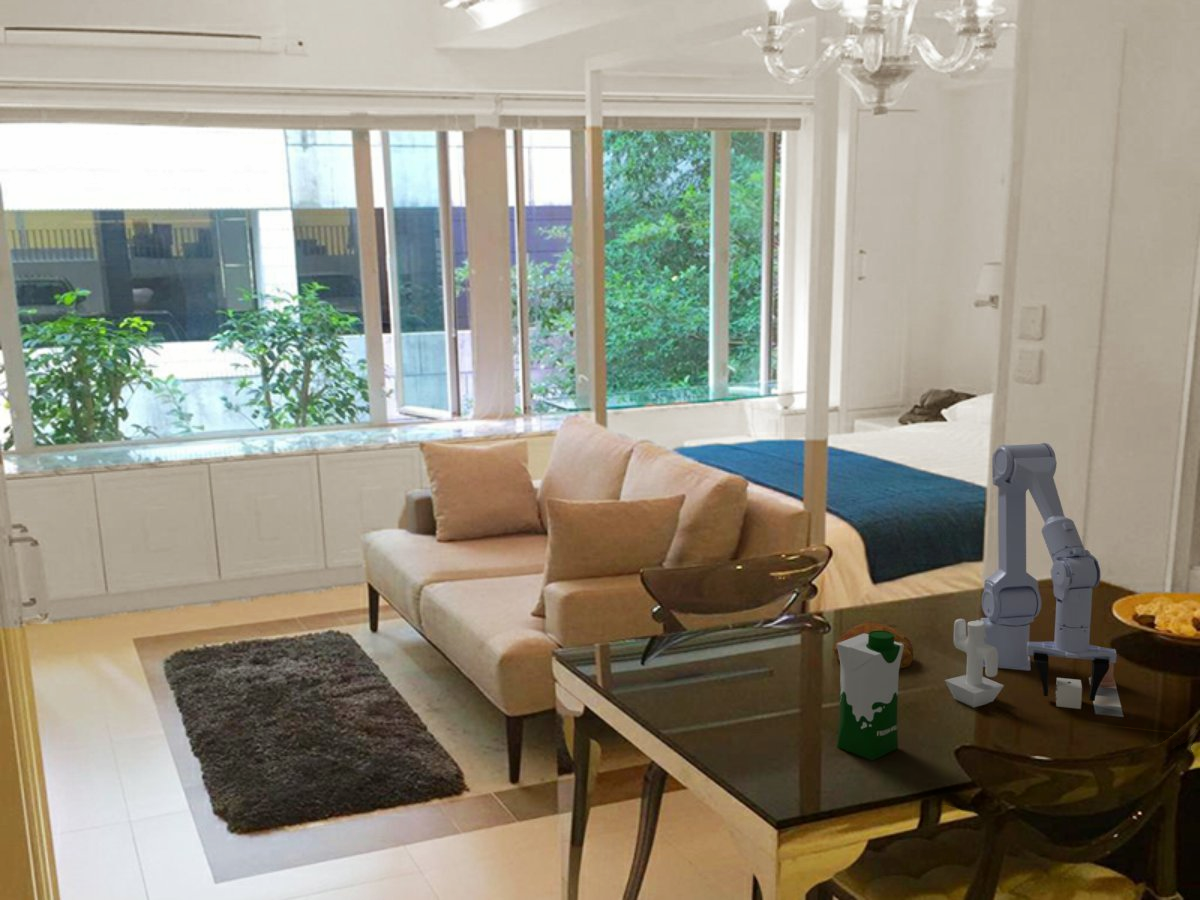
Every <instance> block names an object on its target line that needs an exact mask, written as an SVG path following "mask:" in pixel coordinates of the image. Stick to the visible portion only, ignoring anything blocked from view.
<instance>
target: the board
mask: <svg viewBox="0 0 1200 900" xmlns="http://www.w3.org/2000/svg"><path fill="white" fill-rule="evenodd" d="M1090 678H1091V677H1088V681H1089V686H1090V685H1091V682H1090ZM1092 703H1093V708H1094V714H1095V715H1099V716H1100V715H1101V716H1108V717H1109V716H1110V717H1111V716H1112V717H1119V718H1120V717H1121V718H1124V713H1123V708H1122V704H1121V701H1120V696H1119V693H1118V688H1117V683H1116V682H1115V685H1114V686H1113V687H1100V686H1099V687H1098V690H1097V692H1096V696H1095V701H1092Z"/></svg>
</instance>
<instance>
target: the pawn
mask: <svg viewBox="0 0 1200 900" xmlns="http://www.w3.org/2000/svg"><path fill="white" fill-rule="evenodd" d="M1114 668H1115V663H1110V662H1109V670H1108V672H1107V673H1106V674H1105V676H1104V677H1103V679H1102V681H1101V683H1100V685H1099V686H1100V687H1113V686H1114V685H1115V683H1116V679H1115V677H1114ZM1089 678H1090V682H1091V678H1092V675H1091V676H1090V677H1089ZM1090 682H1089V683H1090Z"/></svg>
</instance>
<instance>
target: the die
mask: <svg viewBox="0 0 1200 900" xmlns="http://www.w3.org/2000/svg"><path fill="white" fill-rule="evenodd" d="M1055 682H1056V684H1055V694H1054V696H1055V706H1056V707H1060V708H1070V709H1076V710H1077V709H1078V710H1081V709H1082V696H1083V686H1082V685H1083V684H1082V680H1081V679H1077V678H1076V679H1074V678H1064V677H1056V681H1055Z"/></svg>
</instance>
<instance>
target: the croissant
mask: <svg viewBox="0 0 1200 900" xmlns="http://www.w3.org/2000/svg"><path fill="white" fill-rule="evenodd" d="M877 630H881V631H888V632H891V633H893V634H894V641H895V642H898V643H901V644H904V648H903V652H902V657H901V662H900V667H899V669H902V668H903V669H905V668H907V667H909V666H910V665H911V664H912V662H913V660H914V648H913V644H912V642H911V640H910V639H909V638H908V637H907V636H905V635H904V634H903V633H902V632H900V631H898V630H897V629H895V628H894V627H891V626H889V625H885V624H881V623H877V622H873V621H866V622H864V621H863V622H861V623H859V624H856V626H854V627H851V628H850V629H849V630H847V631H845V633H843V634H842V635H841V636H840V637H839V639H838V640H837V641H836V643H835V644H834V645H833V647H832V651H833V654H834V656H835V658H836V659H837V660H838V661H839V662H840V659H839V653H838V648H837V643H840V642H842V641H845V640H848V639H850V638H853V637H856V636H858V635H861V634H864V633H865V634H869V633H870V632H871V631H877Z"/></svg>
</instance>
